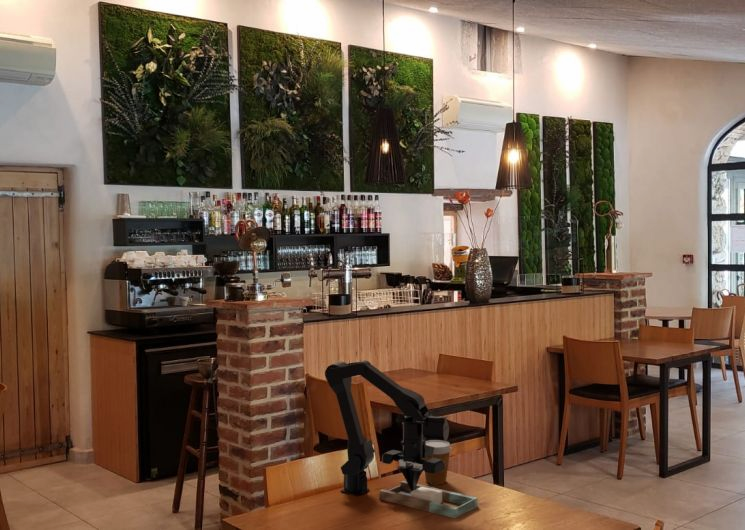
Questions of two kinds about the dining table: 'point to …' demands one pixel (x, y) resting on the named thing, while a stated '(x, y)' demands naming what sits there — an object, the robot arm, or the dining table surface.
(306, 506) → the dining table surface
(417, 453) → the robot arm
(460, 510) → the box
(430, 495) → the ivory block
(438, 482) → the disposable coffee cup
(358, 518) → the dining table surface
